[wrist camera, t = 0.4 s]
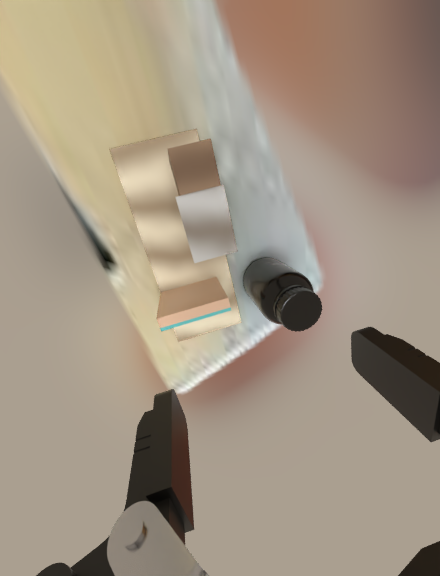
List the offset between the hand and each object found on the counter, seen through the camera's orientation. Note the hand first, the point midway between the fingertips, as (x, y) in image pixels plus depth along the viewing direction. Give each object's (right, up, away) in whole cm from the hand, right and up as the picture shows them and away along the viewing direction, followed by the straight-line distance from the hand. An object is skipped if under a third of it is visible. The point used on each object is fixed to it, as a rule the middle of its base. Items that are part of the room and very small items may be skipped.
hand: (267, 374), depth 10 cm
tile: (-6, +4, +23) cm, 24 cm away
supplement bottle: (+5, +5, +26) cm, 27 cm away
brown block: (-5, +14, +20) cm, 25 cm away
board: (-7, +9, +22) cm, 25 cm away
